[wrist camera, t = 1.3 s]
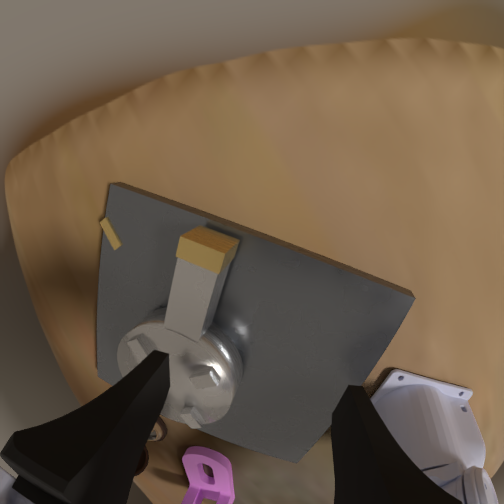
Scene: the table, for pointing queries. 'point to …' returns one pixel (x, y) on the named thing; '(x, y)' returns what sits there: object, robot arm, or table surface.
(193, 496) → the bracket
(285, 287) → the plate
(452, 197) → the table surface
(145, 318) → the silver disc with handle
